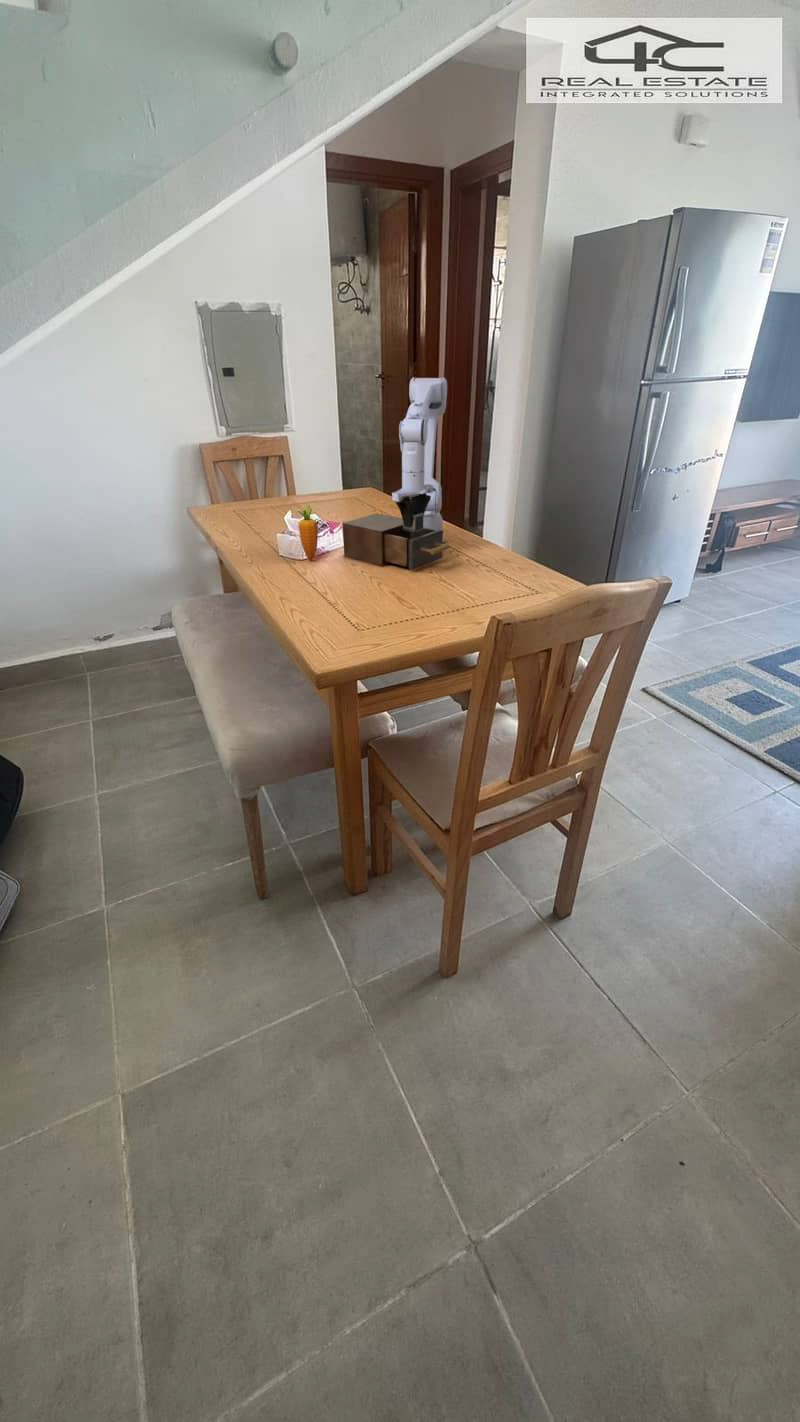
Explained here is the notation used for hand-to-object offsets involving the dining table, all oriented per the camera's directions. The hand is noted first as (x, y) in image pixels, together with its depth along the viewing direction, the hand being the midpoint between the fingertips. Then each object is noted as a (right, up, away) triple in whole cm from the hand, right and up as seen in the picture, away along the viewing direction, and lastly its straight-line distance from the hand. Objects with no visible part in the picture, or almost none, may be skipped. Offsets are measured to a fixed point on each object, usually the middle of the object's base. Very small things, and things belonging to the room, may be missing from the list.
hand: (412, 525), depth 161 cm
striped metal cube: (0, -1, +1) cm, 1 cm away
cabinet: (-9, -5, +12) cm, 16 cm away
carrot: (-28, -8, +7) cm, 30 cm away
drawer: (+1, -9, +4) cm, 10 cm away
